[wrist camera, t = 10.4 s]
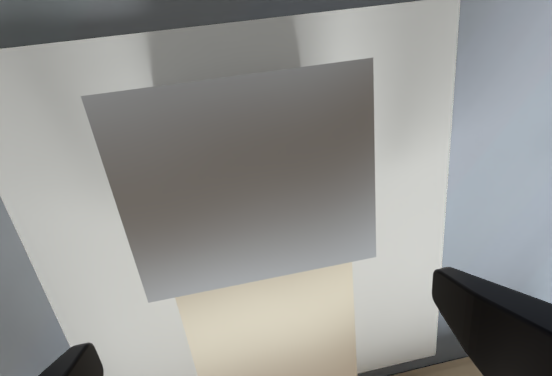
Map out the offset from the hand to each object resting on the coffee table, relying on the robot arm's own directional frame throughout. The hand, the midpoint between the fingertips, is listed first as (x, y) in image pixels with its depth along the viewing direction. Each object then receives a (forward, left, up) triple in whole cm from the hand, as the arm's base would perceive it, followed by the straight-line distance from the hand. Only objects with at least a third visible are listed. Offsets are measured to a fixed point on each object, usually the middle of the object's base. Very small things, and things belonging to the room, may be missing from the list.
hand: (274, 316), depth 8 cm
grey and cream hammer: (0, 0, -4) cm, 4 cm away
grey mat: (0, 0, -5) cm, 5 cm away
